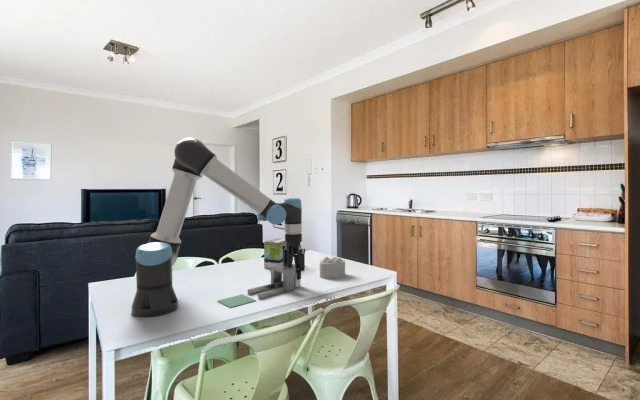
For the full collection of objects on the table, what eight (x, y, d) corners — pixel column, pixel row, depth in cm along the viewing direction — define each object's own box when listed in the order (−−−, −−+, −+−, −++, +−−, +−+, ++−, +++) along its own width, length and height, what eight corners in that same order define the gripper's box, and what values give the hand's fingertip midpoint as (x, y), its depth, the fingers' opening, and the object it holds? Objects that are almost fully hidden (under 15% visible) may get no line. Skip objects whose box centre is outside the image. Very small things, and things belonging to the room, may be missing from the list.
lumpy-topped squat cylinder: (347, 275, 170) (347, 258, 169) (329, 280, 161) (329, 262, 161) (333, 271, 177) (333, 254, 177) (314, 276, 168) (314, 258, 168)
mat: (230, 308, 125) (230, 307, 125) (217, 301, 132) (217, 300, 132) (255, 300, 132) (255, 300, 132) (242, 294, 140) (242, 294, 140)
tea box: (280, 270, 181) (280, 242, 180) (263, 268, 184) (263, 241, 184) (292, 263, 195) (292, 238, 194) (276, 262, 198) (276, 237, 198)
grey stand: (260, 299, 134) (260, 275, 133) (246, 293, 141) (245, 270, 141) (294, 290, 145) (294, 268, 145) (279, 285, 153) (279, 264, 153)
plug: (279, 291, 144) (279, 280, 143) (272, 289, 147) (272, 277, 147) (300, 286, 152) (300, 275, 151) (293, 284, 155) (293, 273, 155)
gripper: (313, 234, 147) (313, 287, 148) (287, 230, 160) (288, 279, 161) (299, 236, 142) (300, 291, 143) (274, 232, 155) (275, 282, 156)
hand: (293, 285), depth 152 cm, fingers closed on plug, 4 cm apart
